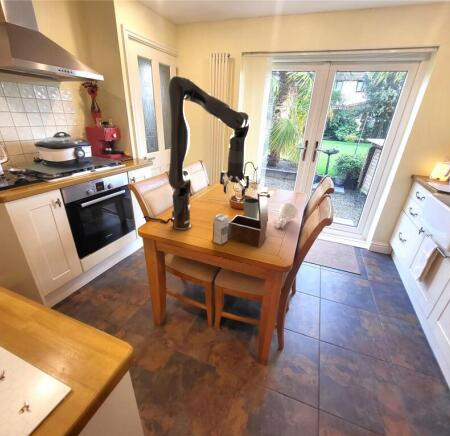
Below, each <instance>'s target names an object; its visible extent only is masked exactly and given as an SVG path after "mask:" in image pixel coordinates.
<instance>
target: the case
mask: <svg viewBox="0 0 450 436" xmlns="http://www.w3.org/2000/svg"><path fill="white" fill-rule="evenodd" d="M267 228H268V222H267V223H266V224H265V225H264V227H263V228H262V229H261V230H260V226H259V218H257V219H254V218H249V217H245V216H244V215H240V214H236V215H235V216H234V217H233V218H232V219H230V220H229V224H228V240H230V241H234V242H237V243H241V244H245V245H248V246H252V247H256V248H259V247H260V246H261V245H262V243H263V242H264V241H265V239H266V235H267Z"/></svg>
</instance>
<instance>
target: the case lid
mask: <svg viewBox="0 0 450 436" xmlns="http://www.w3.org/2000/svg"><path fill="white" fill-rule="evenodd" d="M267 190H268V189H267V186H264V187H263V188H262V189H261V190H260V191H258V192H257V199H258V220H259V226H260V230H261V229H262V228H263V227H264V225H265V224H266V223H267V224H268V222H269V212H268V209H269V208H268V199H270V198H271V197H272V196H273V195H274V193H275V192H274V190H270V191H267Z"/></svg>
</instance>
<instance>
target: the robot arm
mask: <svg viewBox="0 0 450 436" xmlns="http://www.w3.org/2000/svg"><path fill="white" fill-rule="evenodd" d="M168 99H169V100H168V101H169V111H170V115H169V117H170V131H169V132H170V134H169V135H170V137H169V138H170V140H169V142H170V143H169V145H170V152H169V170H168V184H169V186H170V188H172V189H173V190H174V191H173V193H172V196H171V197H172V212H171V217H169V218H168V219H167V220H164V219H162V218H155V217H151V216H149V215H144V216H143V217H142V218H143V219H148V220H152V221H160V222H163V223H165V224H168V223H169V222H171V223H172V227H173V228H174V229H175V230H178V231H185V230H188V229H190V228H191V226H192V225H191V203H190V201H191V199H190V195H191V193H192V192H191V191H192V180H191V179H192V178H191V175H190V173H189V171H188V170H187V169H185V168H184V163H185V160H186V157H187V155H188V151H189V148H190V141H191V140H190V139H191V138H190V136H191V134H190V127H189V124H188V122H187V119H186V116H185V102H187V101H188V102H191V103H194V104H197V105H199V106H200V107H201V108H202V109H203V110H204V111H205V112H206V113H207V114H209V115H210V116H212V117H214V118H216V119H217V120H219V121H221V123H223V124H224V126H226V127H227V128H229V129H231V130H233V135H231V136H230V138H229V146H228V147H229V148H228V155H227V171H225V170H222V171H221V172H220V179H219V184H220V185H222V186H223V193H224V194H228V187H229V186H228V184H229V183H232V184H233V183H235V184H239V186H240V187H241V197H245V195H246V192H247V189H250V187H251V174H245V165H246V164H245V163H246V145H247V143H246V142H247V138H248V134H249V131H250V125H251V120H250V116H249V114H248V113H247V112H245V111H236V110H234V109H233V108H231V106H230V105H229V104H228V103H226V102H225V101H223V100H221V99H219V98H217V97H215V96H214V95H211V94H210V93H208V92H206V91H205V90H203V89H202V88H201V87H199V86H198V85H197V84H196V83H194V82H193V81H192V80H191V79H190V78H187V77H183V76H178V75H174V76H172V77H171V79H170V80H169V83H168ZM226 176H227V179H226V180H225V178H226ZM244 180H245V181H246V183H245V181H244Z"/></svg>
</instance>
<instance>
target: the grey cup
mask: <svg viewBox="0 0 450 436" xmlns="http://www.w3.org/2000/svg"><path fill="white" fill-rule="evenodd" d="M242 200H243V201H242V202H243V203H242V204H243V216H245V217H249V218H254V219H258V215H259V210H258V198H256V197H246V198H243V199H242Z"/></svg>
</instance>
